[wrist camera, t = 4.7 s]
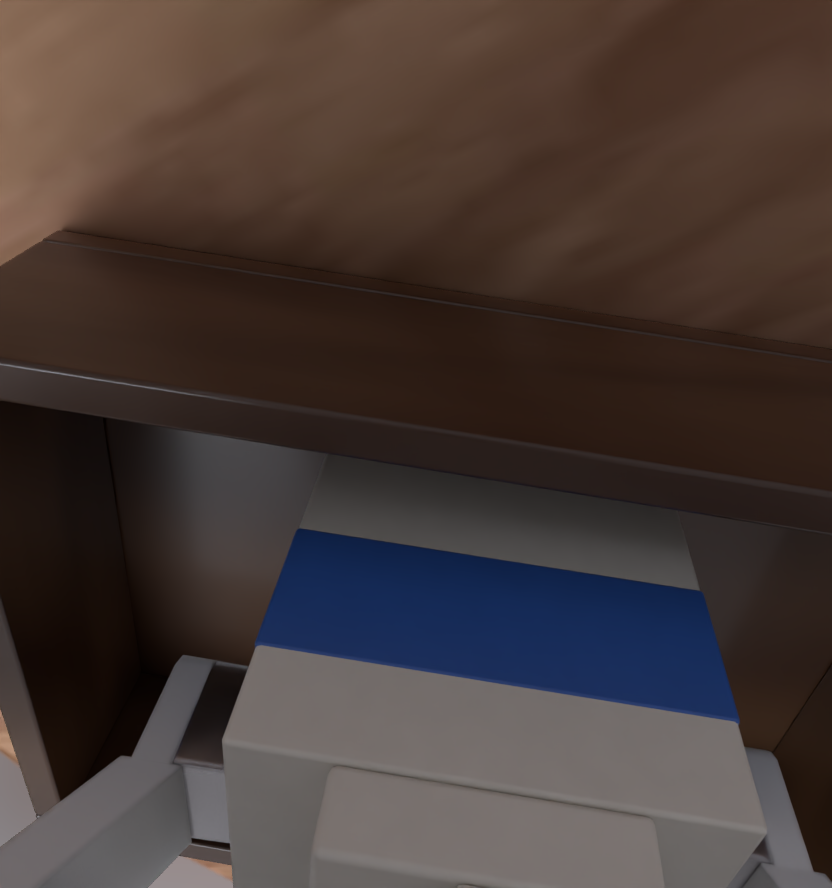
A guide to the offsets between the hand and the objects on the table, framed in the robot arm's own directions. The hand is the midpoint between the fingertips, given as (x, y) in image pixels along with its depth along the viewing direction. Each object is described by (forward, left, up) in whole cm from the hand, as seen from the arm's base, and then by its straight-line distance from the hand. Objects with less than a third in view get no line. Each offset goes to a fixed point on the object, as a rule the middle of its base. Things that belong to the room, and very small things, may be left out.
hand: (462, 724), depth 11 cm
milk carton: (0, 0, -3) cm, 3 cm away
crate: (0, 0, -4) cm, 4 cm away
